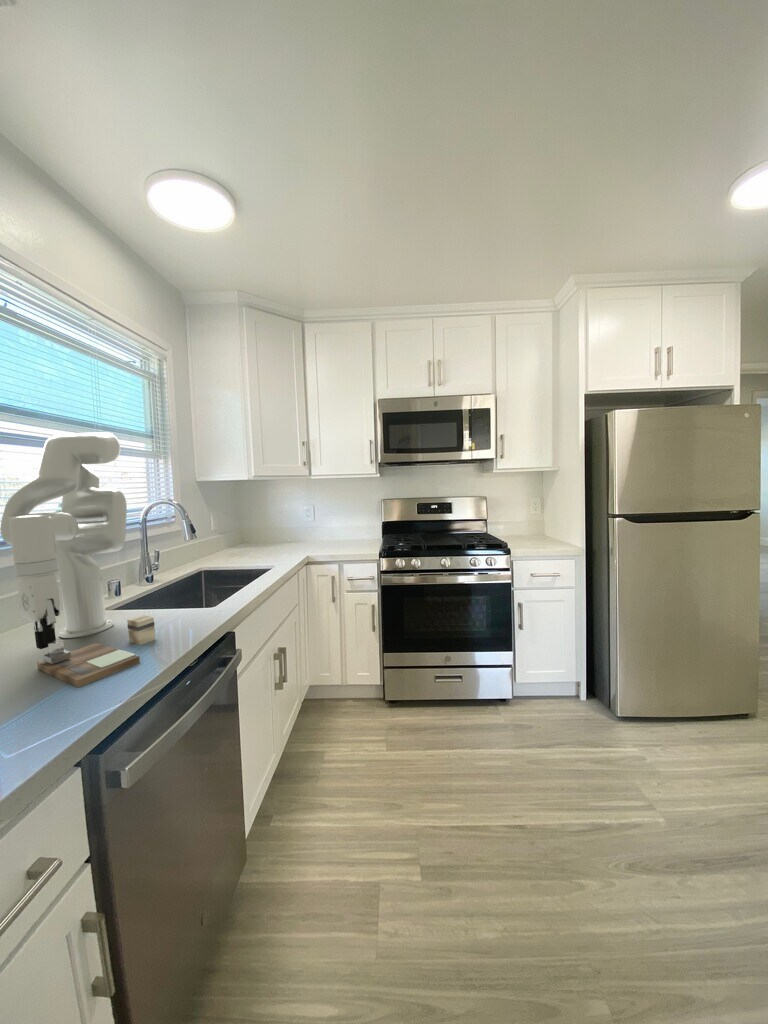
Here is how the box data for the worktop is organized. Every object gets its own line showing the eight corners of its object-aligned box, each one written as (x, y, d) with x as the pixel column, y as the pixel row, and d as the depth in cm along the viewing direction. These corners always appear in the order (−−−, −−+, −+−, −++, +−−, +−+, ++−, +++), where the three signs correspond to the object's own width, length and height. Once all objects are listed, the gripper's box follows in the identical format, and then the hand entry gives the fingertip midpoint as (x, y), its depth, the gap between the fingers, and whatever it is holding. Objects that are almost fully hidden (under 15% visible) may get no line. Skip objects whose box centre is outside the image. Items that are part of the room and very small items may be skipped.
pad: (86, 662, 89) (86, 661, 89) (120, 650, 95) (119, 649, 95) (101, 668, 85) (101, 667, 85) (135, 655, 91) (135, 654, 91)
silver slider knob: (44, 661, 90) (41, 643, 90) (63, 654, 93) (61, 637, 93) (51, 664, 88) (49, 646, 87) (71, 657, 91) (68, 640, 91)
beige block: (129, 642, 104) (126, 619, 104) (145, 636, 107) (143, 614, 107) (139, 645, 101) (137, 622, 101) (156, 639, 105) (153, 617, 104)
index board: (37, 669, 90) (36, 662, 90) (97, 648, 101) (96, 642, 101) (78, 687, 80) (77, 680, 80) (139, 662, 90) (139, 655, 90)
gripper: (3, 570, 92) (13, 647, 93) (28, 574, 84) (39, 658, 85) (44, 563, 98) (53, 636, 100) (70, 566, 91) (80, 645, 92)
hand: (46, 646), depth 92 cm, fingers closed
